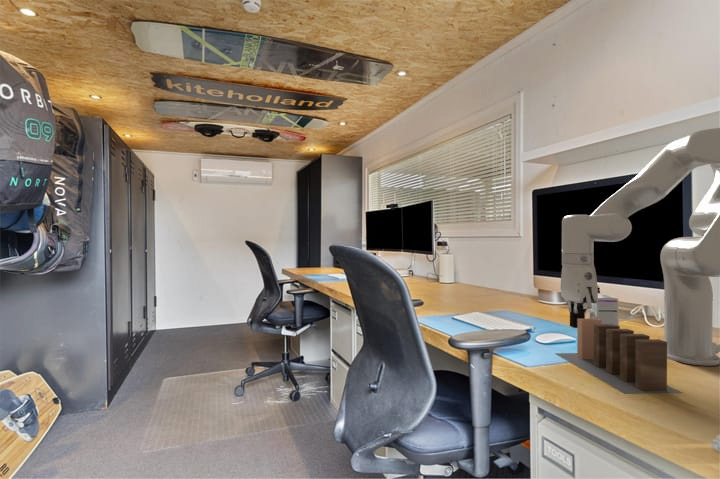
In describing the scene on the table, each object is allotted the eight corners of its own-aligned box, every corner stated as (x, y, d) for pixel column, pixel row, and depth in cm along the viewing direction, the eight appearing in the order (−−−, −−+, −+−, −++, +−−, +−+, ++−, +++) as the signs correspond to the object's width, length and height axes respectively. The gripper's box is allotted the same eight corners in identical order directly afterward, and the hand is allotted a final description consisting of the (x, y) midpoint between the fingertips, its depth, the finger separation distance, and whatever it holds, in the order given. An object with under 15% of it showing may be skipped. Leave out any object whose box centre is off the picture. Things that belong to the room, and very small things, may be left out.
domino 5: (635, 387, 78) (635, 339, 78) (658, 387, 79) (659, 339, 78) (642, 391, 76) (642, 342, 76) (666, 390, 77) (667, 342, 76)
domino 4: (619, 379, 83) (620, 333, 83) (642, 378, 83) (642, 333, 83) (626, 382, 81) (626, 336, 81) (649, 382, 81) (649, 336, 81)
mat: (598, 354, 102) (598, 352, 102) (683, 394, 76) (683, 392, 76) (554, 354, 101) (554, 353, 101) (624, 395, 75) (624, 393, 75)
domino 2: (593, 365, 92) (593, 324, 92) (613, 364, 92) (613, 324, 92) (599, 368, 90) (599, 326, 90) (619, 367, 90) (619, 326, 90)
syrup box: (619, 349, 106) (619, 297, 106) (596, 347, 108) (596, 297, 107) (610, 343, 112) (610, 294, 112) (588, 342, 113) (588, 294, 113)
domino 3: (606, 371, 87) (606, 328, 87) (627, 371, 88) (627, 328, 87) (612, 374, 85) (612, 331, 85) (633, 374, 86) (633, 330, 85)
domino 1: (601, 358, 97) (601, 320, 96) (582, 359, 96) (582, 320, 96) (596, 356, 99) (596, 318, 98) (577, 356, 98) (577, 318, 98)
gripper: (609, 261, 95) (609, 334, 95) (574, 258, 110) (574, 321, 110) (580, 262, 95) (580, 334, 95) (549, 258, 110) (549, 321, 110)
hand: (577, 327), depth 103 cm, fingers closed
